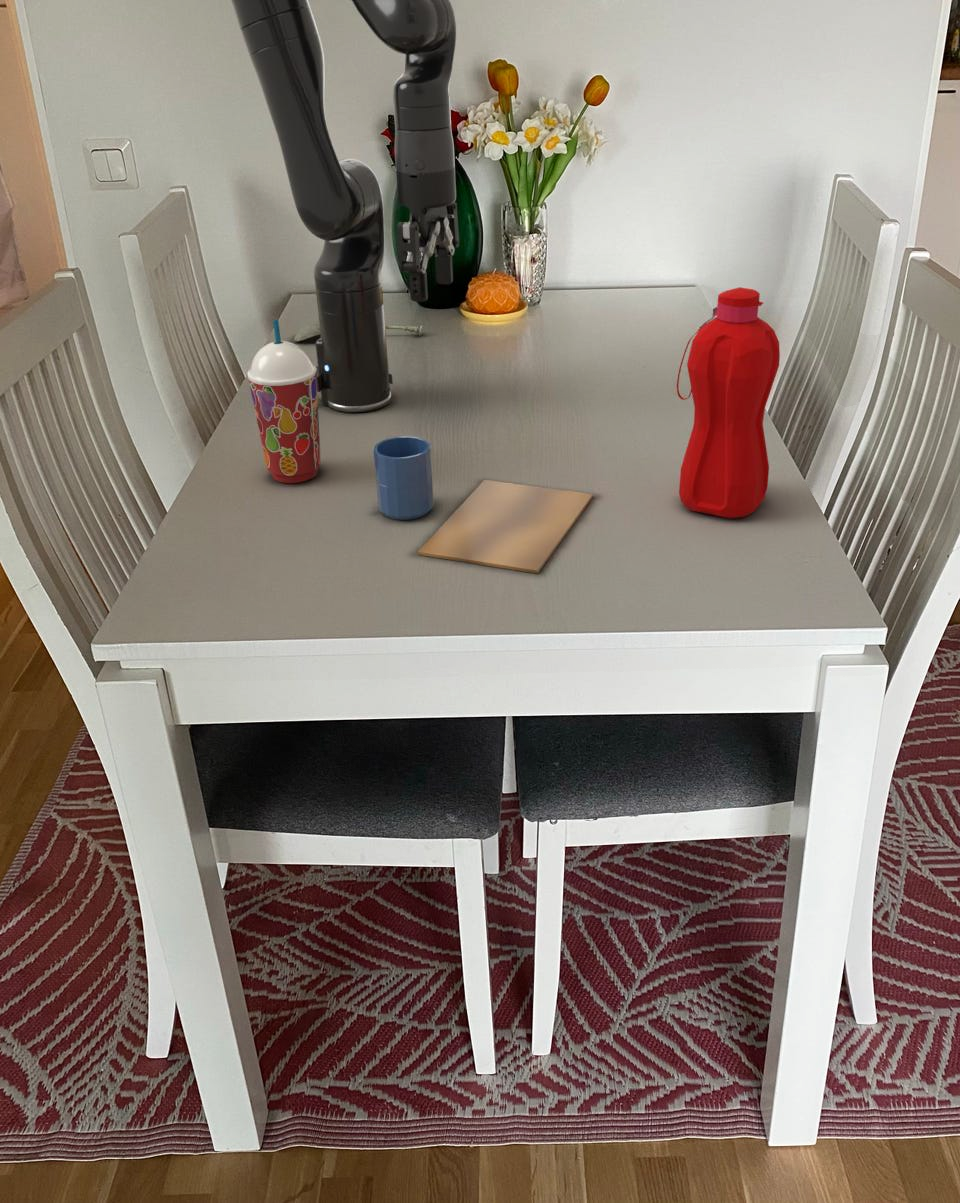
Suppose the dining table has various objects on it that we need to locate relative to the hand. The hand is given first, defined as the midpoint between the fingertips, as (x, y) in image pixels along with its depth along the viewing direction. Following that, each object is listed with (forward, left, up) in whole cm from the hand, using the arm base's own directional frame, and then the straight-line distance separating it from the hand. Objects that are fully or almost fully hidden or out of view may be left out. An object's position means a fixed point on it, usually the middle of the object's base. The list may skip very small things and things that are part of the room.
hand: (432, 292), depth 154 cm
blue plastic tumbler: (+9, -30, -17) cm, 36 cm away
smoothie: (-9, -25, -18) cm, 32 cm away
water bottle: (+43, -17, -18) cm, 49 cm away
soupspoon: (-28, +29, -18) cm, 44 cm away
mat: (+22, -30, -17) cm, 41 cm away
